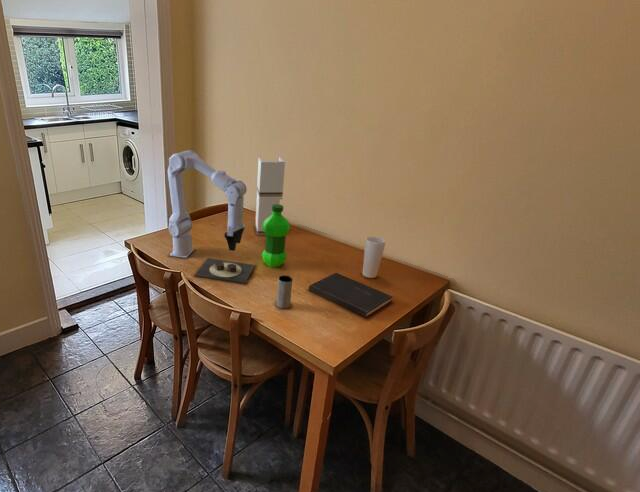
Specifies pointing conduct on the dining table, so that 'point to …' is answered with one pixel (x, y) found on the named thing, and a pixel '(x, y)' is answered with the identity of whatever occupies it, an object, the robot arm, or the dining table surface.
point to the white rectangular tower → (268, 190)
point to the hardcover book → (351, 294)
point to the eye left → (219, 266)
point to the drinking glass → (372, 256)
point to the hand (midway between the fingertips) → (234, 246)
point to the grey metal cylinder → (284, 291)
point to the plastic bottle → (275, 237)
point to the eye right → (231, 268)
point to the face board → (225, 271)
